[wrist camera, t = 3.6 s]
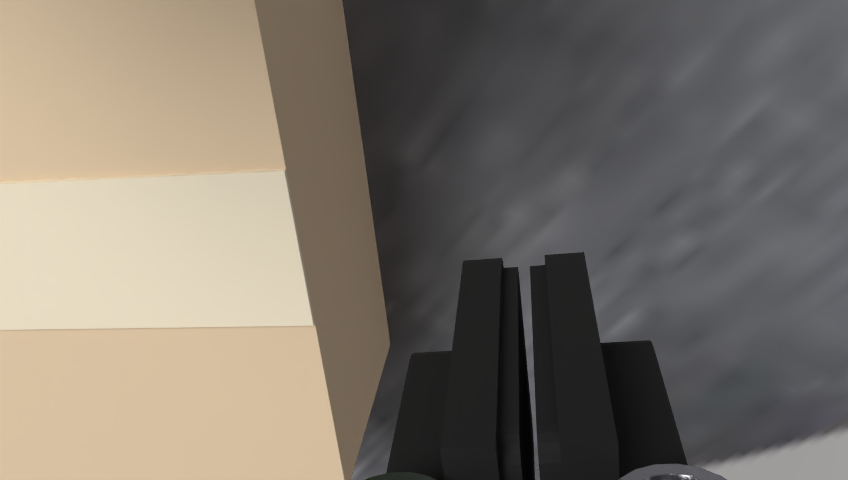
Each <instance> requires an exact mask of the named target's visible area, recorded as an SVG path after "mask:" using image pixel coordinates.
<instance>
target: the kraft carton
mask: <svg viewBox="0 0 848 480" xmlns="http://www.w3.org/2000/svg"><path fill="white" fill-rule="evenodd" d="M389 347H390V338H389V330H388V323H387V316H386V309H385V302H384V295H383V288H382V280H381V273H380V266H379V259H378V252H377V245H376V238H375V230H374V223H373V216H372V209H371V202H370V195H369V188H368V180H367V173H366V166H365V159H364V152H363V145H362V138H361V130H360V123H359V116H358V109H357V102H356V95H355V88H354V80H353V73H352V66H351V59H350V52H349V45H348V37H347V30H346V23H345V16H344V9H343V2H342V0H0V480H351V477H352V474H353V470H354V467H355V464H356V460H357V457H358V453H359V450H360V447H361V443H362V440H363V436H364V433H365V429H366V426H367V423H368V419H369V416H370V412H371V409H372V405H373V402H374V399H375V395H376V392H377V388H378V385H379V382H380V378H381V375H382V371H383V368H384V364H385V361H386V358H387V354H388V351H389Z"/></svg>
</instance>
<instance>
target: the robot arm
mask: <svg viewBox="0 0 848 480" xmlns="http://www.w3.org/2000/svg"><path fill="white" fill-rule="evenodd" d="M530 278H531V302H532V327H533V351H534V375H535V400H536V424H537V443H538V457H539V470H540V480H726V479H725V478H723V477H722V476H720V475H717V474H715V473H712V472H710V471H707V470H705V469H702V468H699V467H693V466H688V465H687V461H686V458H685V455H684V451H683V448H682V444H681V441H680V437H679V434H678V430H677V427H676V423H675V420H674V416H673V413H672V409H671V406H670V403H669V399H668V396H667V392H666V389H665V385H664V382H663V378H662V375H661V371H660V368H659V364H658V361H657V357H656V354H655V351H654V347H653V345H652V342H651V341H630V342H611V343H600V339H599V333H598V328H597V322H596V316H595V311H594V305H593V300H592V294H591V289H590V283H589V278H588V272H587V267H586V261H585V255H584V252H582V253H567V254H553V255H545V265H541V266H530ZM366 480H535V469H534V442H533V427H532V415H531V404H530V393H529V382H528V371H527V360H526V349H525V338H524V327H523V316H522V305H521V294H520V283H519V273H518V267H512V268H504V267H503V261H502V258H497V259H483V260H468V261H463V267H462V275H461V283H460V291H459V299H458V307H457V315H456V323H455V331H454V339H453V347H452V351H443V352H425V353H414V354H412V356H411V359H410V362H409V367H408V372H407V376H406V381H405V386H404V391H403V396H402V401H401V405H400V410H399V415H398V420H397V425H396V429H395V434H394V439H393V444H392V449H391V454H390V458H389V463H388V468H387V473H386V474H382V475H378V476H374V477H370V478H368V479H366Z"/></svg>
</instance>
